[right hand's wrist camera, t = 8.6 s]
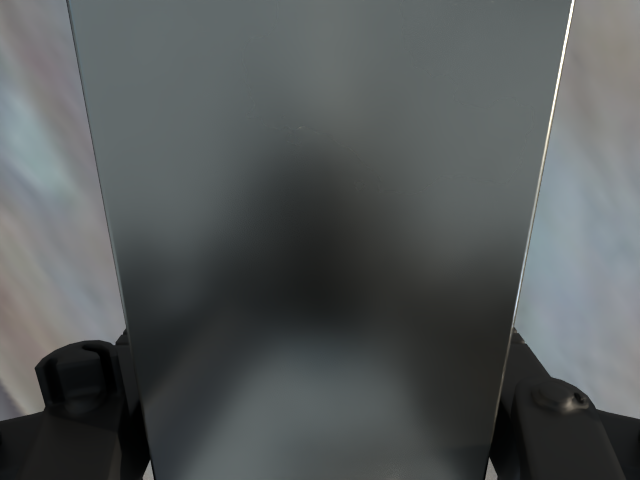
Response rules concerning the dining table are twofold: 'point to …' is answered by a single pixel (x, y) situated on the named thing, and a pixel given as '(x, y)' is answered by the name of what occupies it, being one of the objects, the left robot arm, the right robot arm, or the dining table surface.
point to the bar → (320, 222)
